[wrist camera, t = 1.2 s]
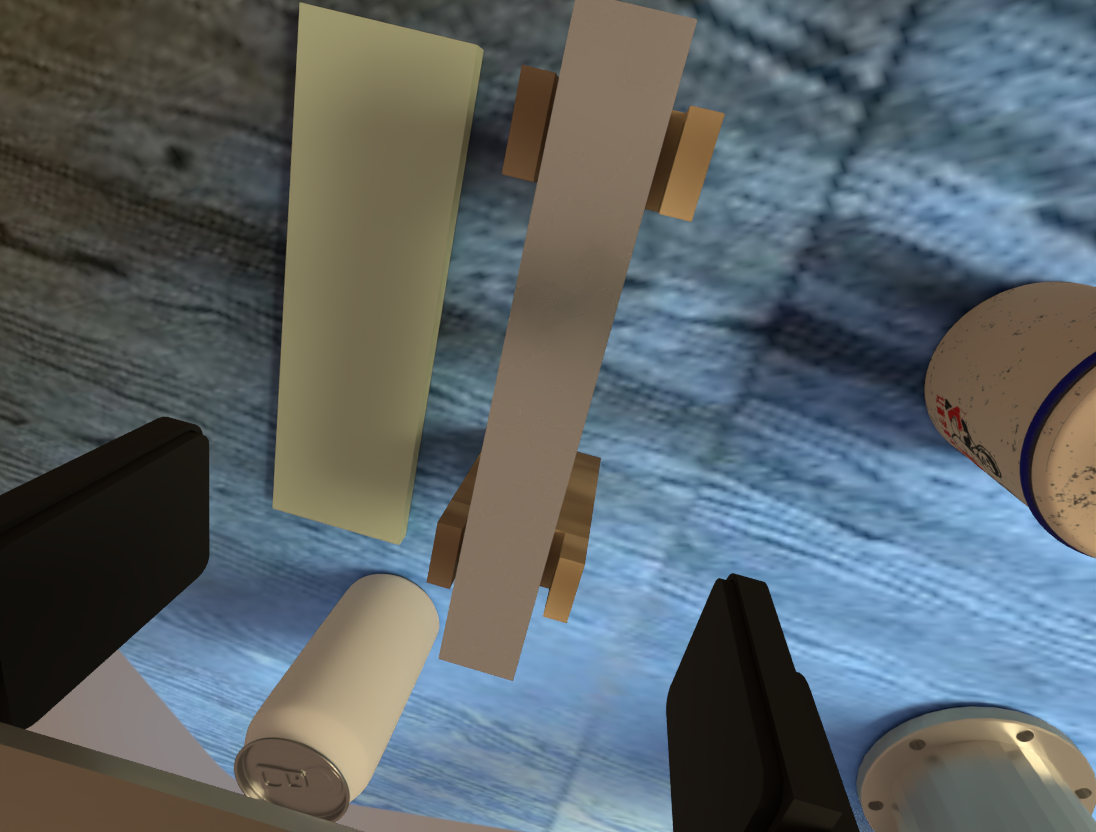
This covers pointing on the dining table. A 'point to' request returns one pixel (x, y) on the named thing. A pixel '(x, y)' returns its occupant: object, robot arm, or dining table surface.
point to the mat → (366, 262)
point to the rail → (562, 313)
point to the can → (339, 700)
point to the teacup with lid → (1026, 400)
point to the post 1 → (564, 548)
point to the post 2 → (677, 161)
